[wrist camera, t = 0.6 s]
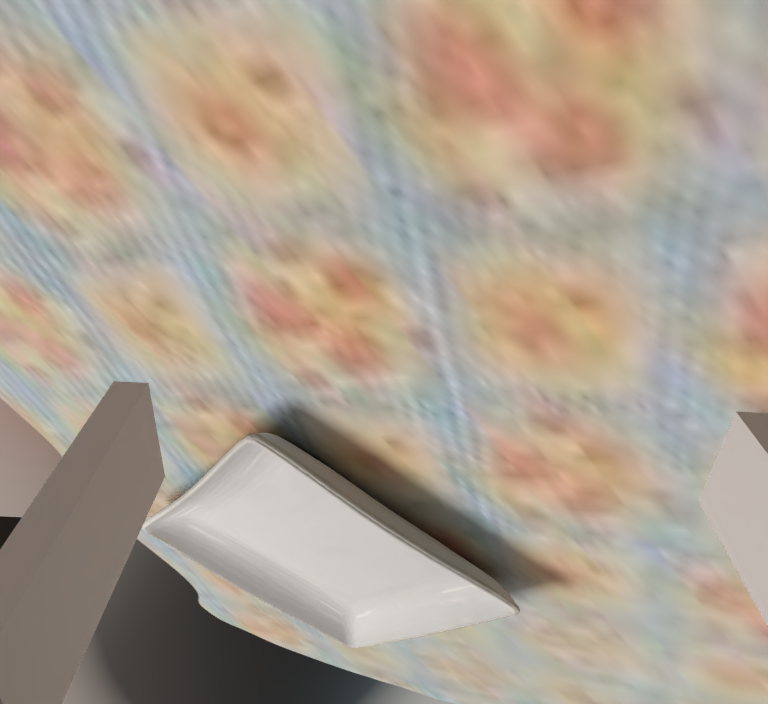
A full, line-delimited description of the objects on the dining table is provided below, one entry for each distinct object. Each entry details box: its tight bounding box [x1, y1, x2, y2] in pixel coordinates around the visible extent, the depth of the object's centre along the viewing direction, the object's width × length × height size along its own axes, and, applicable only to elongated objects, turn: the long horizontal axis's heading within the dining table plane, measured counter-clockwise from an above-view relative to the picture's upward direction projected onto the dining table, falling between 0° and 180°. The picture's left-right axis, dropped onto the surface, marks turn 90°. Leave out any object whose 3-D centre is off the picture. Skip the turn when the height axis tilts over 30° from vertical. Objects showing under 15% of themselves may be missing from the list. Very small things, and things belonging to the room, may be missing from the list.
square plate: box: [142, 433, 520, 648], centre depth 59 cm, size 27×27×4 cm
